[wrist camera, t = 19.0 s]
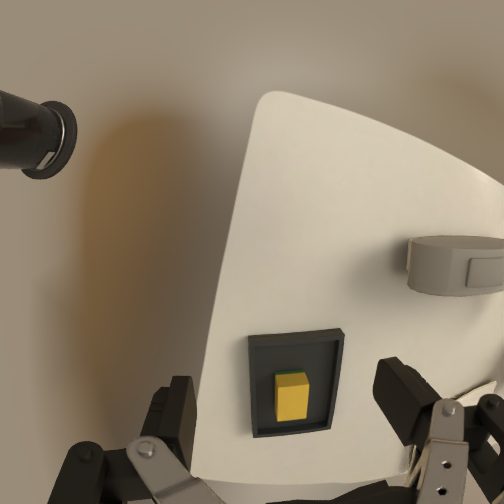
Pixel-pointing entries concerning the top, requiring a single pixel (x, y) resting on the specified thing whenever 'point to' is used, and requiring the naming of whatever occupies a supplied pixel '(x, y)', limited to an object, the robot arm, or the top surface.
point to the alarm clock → (456, 265)
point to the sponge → (290, 395)
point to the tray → (289, 359)
